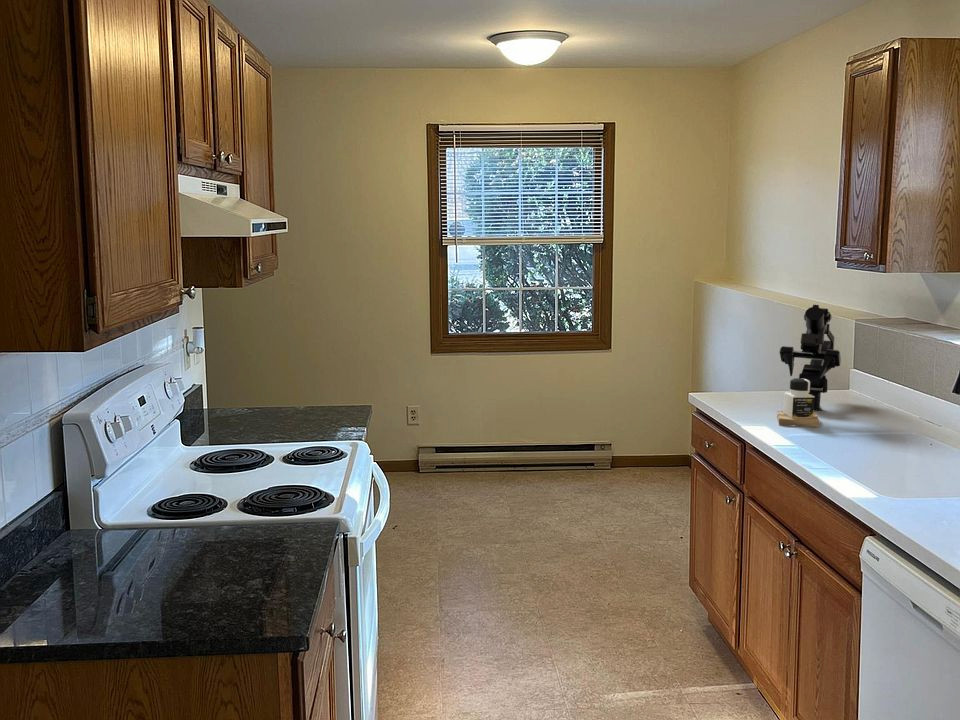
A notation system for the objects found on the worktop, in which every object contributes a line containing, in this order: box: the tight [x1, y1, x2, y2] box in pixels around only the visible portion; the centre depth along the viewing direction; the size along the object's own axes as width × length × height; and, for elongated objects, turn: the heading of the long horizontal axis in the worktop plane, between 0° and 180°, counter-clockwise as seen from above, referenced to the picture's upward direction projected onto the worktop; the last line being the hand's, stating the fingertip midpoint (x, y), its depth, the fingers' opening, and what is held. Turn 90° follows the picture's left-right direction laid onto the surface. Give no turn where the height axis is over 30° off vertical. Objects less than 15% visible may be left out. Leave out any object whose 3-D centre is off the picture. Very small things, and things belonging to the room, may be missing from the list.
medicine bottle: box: [782, 377, 815, 418], centre depth 305 cm, size 7×7×12 cm
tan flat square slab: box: [776, 410, 820, 428], centre depth 306 cm, size 12×12×2 cm
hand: (805, 376), depth 311 cm, fingers open, 9 cm apart
